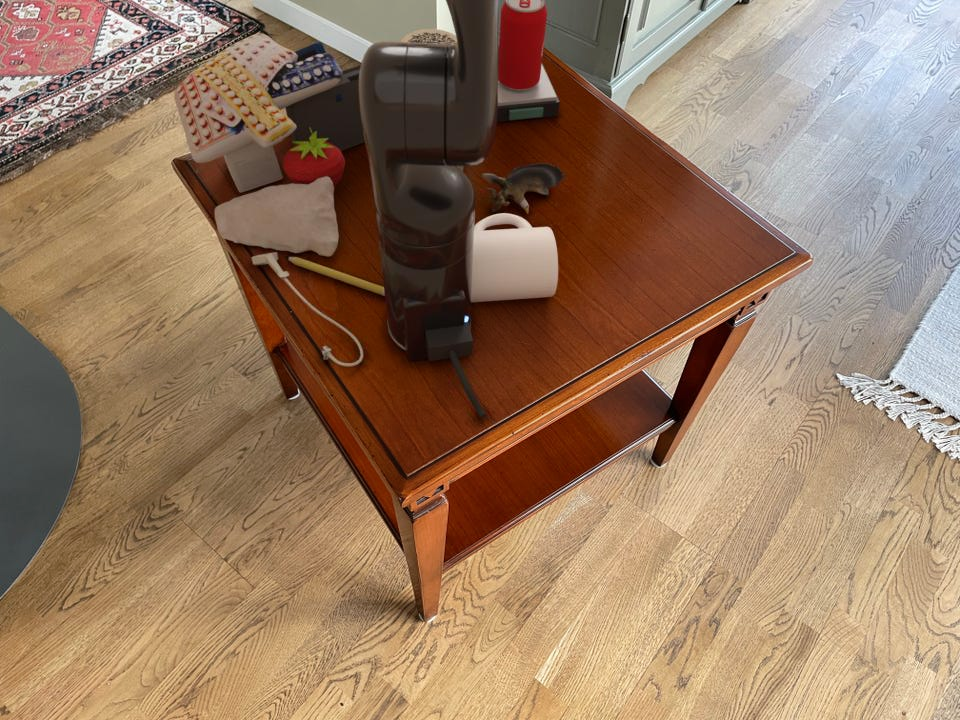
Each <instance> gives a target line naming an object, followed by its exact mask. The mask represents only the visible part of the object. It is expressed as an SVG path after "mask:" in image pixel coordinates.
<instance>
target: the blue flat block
mask: <svg viewBox="0 0 960 720" xmlns="http://www.w3.org/2000/svg"><path fill="white" fill-rule="evenodd" d="M294 52H295V53H296V54H297V56H298V59H297V62H296V63H298V62H300V61H303V60H305V59H307V58H309V57H312V56H314V55H317V54H323V53H326V54H327V51H326V49H325V46H324V44H323V42H321V41H317V42H314V43H312V44H309V45H307V46H305V47H302V48H300V49H298V50H296V51H294ZM336 99H337V102H338V101H341V100H342V96H341V94H338V95H337V96H336Z"/></svg>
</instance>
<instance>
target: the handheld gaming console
mask: <svg viewBox="0 0 960 720" xmlns="http://www.w3.org/2000/svg"><path fill="white" fill-rule="evenodd" d="M360 67H361V64H360V65H357V66H354V67H351V68H347V69H345V70H341V71H342V73H343V78H342V80H341V82H340V83H339V84H337V85H336V86H334V87H332V88H331V89H328V90H326V91H323V92H320V93H318V94H315V95H313V96H310V97H307V98H305V99H303V100H300V101H298V102H296V103H293V104H292V105H290V106H288V107H286V108H285V114H286V116H288V118H290V119H291V120H292V121H293V122H294V123H295V124H296V126H297V128H296V129H295V131H294V132H293V133H291V134H290V136H291V142H292V141H310V139H309V137H310V136H311V135H312V133H314V132H315V131H316V134H317V139H321V138H329V139H327V140H326V141H325V142H328V143H330V144H332V145H334V146H336V147H337V148H339V149H340V151H341V152H342V151H345V150H347V149H350V148H353V147H355V146H359V145H362V144H365V140H364V135H363V129H362V122H361V115H360V108H359V88H358V85H359V72H360ZM338 94H341V96H342V100H341V101H338V102H337V99H336V96H337V95H338ZM310 128H311V130H312V133H311V130H310ZM292 145H293V146H295V145H297V144H296V143H292Z"/></svg>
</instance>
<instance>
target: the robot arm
mask: <svg viewBox="0 0 960 720" xmlns="http://www.w3.org/2000/svg"><path fill="white" fill-rule="evenodd" d="M445 2H446V5H447V8H448V10H449V14H450V17H451V20H452V25H453V28H454V32H455V36H456V38H457V44H449V47H448V45H447V44H438V43H413V42H410V43H409V42H400V41H378V42H374V43H372V44H371V45H370V46H369V47H368V48H367V50H366V51H365V53H364V54H363V57H362V60H361V63H360V65H361V67H360V72H359V85H358V88H359V108H360V115H361V122H362V129H363V135H364V140H365V142H364V145H365V150H366V156H367V160H368V165H369V173H370V177H371V185H372V186H371V187H372V194H373V199H374V200H373V201H374V207H375V208H374V209H375V217H376V219H375V220H376V228H377V236H378V247H379V255H380V264H381V272H382V273H381V274H382V282H383V287H384V292H385V296H384V301H385V309H386V317H387V319H386V326H387V332H388V336H389V338H390V340H391V342H392V343H393V344H394V345H395V346H396V347H397V349H399V350H400V351H401V352H404V354H405V355H406V357H407V361H408V362H416V361H423V360H428V361H429V362H433V361H439V360H446V359H450V361H451V364H452V366H453V368H454V370H455V373H456V375H457V378H458V380H459V382H460V385H461V386H462V388H463V390H464V392H465V394H466V396H467V398H468V400H469V402H470V404H471V405H472V407H473V408H474V410H475V412H476V414H477V415H478V417H479V419H481V420H482V419H484V418H486V417H487V413H486V412H485V410H484V408H483V406H482V405H481V403H480V401H479V399H478V397H477V396H476V394H475V392H474V389H473V388H472V386H471V384H470V382H469V380H468V378H467V376H466V373H465V371H464V369H463V366H462V364H461V362H460V359H459V357H466V356H472V355H473V353H474V352H473V351H474V339H473V335H472V331H471V329H472V316H471V314H472V312H471V311H472V302H471V288H472V265H473V241H474V226H475V219H476V193H475V189H474V186H473V183H472V181H471V179H470V178H469V177H468V175H467V174H466V173H465V172H464V171H463V172H462V171H461V170H460V169H459V168H457V167H456V166H463V167H473V166H478V165H480V164H483V163H484V162H485V161H486V160H487V159H488V157H489V156H490V154H491V152H492V150H493V145H494V141H495V138H496V132H497V131H496V130H497V123H498V122H497V112H498V53H499V7H500V6H499V4H500V3H499V0H445Z"/></svg>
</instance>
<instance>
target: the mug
mask: <svg viewBox="0 0 960 720" xmlns="http://www.w3.org/2000/svg"><path fill="white" fill-rule="evenodd" d="M499 225H511V226H512V225H513V226H515V227H517V228H504V229H488V230H487V228H490V227H493V226H499ZM557 247H558V246H557V242H556V238H555V235H554V232H553V230H552V228H551V227H549V226H538V227H533V226H532V225H531V224H530V222H529V221H528V220H527V219H525V218H523V217H522V216H520V215H516V214H512V213H507V212H503V213H496V214H492V215H489V216H486V217H485V218H483V219H481V220H479V221H478V222H476V224H474V241H473V265H472V288H471V303H484V302H494V301H495V302H497V301H498V302H499V301H510V300H511V301H512V300H527V299H539V298H540V299H541V298H542V299H543V298H552V297H554V295H556V292H557V288H558V282H559V256H558V248H557Z"/></svg>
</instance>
